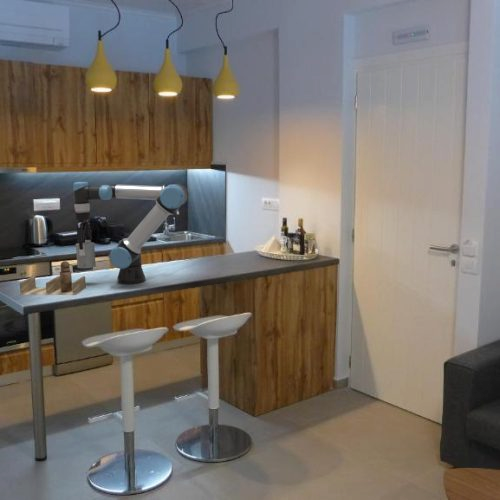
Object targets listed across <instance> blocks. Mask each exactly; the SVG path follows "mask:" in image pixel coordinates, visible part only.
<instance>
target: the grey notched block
mask: <svg viewBox="0 0 500 500" xmlns="http://www.w3.org/2000/svg"><path fill="white" fill-rule="evenodd" d="M83 243H84V247H85V256H80V255H79V243H77V242H76V243H75V249H76V250H75V251H76V254H75V255H76V264H77V265H76V266H77V268H78V269H91V268H96V252H95V250H96V249H95V242H85V241H83Z"/></svg>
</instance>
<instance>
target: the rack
mask: <svg viewBox="0 0 500 500" xmlns="http://www.w3.org/2000/svg"><path fill="white" fill-rule="evenodd" d="M86 288H87V287H86V276H81V277H80V278H78V279H77V280H75V281H73V282H72V291H71V292H61V285H60V275H57V276H56V277H54V278H52V279H50V280H49V281H47V282H46V283H45V286H44V287H39V286H37V283H36V275H32V276H31V277H29V278H26V279H24V280H23V281H21V282H19V290H20V291H19V292H20V295H19V296H23V295H25V296H28V295H29V296H30V295H31V296H43V295H45V296H46V295H47V296H48V295H49V296H50V295H51V296H76V295H77V294H79V293H80V292H82V291H83V290H84V289H86Z"/></svg>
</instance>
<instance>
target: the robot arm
mask: <svg viewBox="0 0 500 500" xmlns="http://www.w3.org/2000/svg"><path fill="white" fill-rule="evenodd" d="M72 188H73V190H72V191H73V199H74V201H73V202H74V205H73V207H74V211H75V213H74V214H75V215H74V217H75V220H78V223H76V244H77V243H79V255H80V256H85V247H84V242H91V241H92V240H93V236H92V230H91V222H90V219H91V212H90V211H91V208H90V207H91V206H90V201H107V200H108V201H109V200H112V199H125V200H126V199H127V200H145V201H146V200H148V201H149V200H150V201H155V205H154V206H153V207H152V209H151V210H150V211H149V212H148V213H147V215H145V217H144V218H143V219H142V220H141V222H140V223H139V224H138V225H137V226H136V227H135V228H134V230H133V231H132V232H131V234H130V235H129V236H128V237H126V238H125V237H124V238H122V239H121V240H119V241H118V244H117V246H115V247H113V249H112V250H111V251H110V253H109V262H110V263H111V264H112V266H113V267H114V268H117V269H119V270H118V275H117V278H116V279H117V283H119V284H123V285H132V284H133V285H134V284H136V285H137V284H142V283H144V282H145V281H146V276H145V273H144V270H143V268H142V266H143V265H142V248H143V246H144V245H145V244H146V243H147V241H149V239H150V238H151V237H152V236H153V235H154V233H155V232H157V230H158V229H159V227H160V226H161V225H162V224H163V223H164V222H165V221H166V219H167V218H168V217H169V216H170V215H171V216H172V215H174V214H175V213H176V212H177V211H178V210H179V209H180V207H181V206H182V205H184V204H185V203H187V201H188V199H189V195H190V194H189V191H188V188H187V187H186V186H185V185H184V184H181V183H172V184H168V183H165V184H163V185H145V184H143V185H141V184H140V185H139V184H117V183H116V184H115V183H105V184H100V185H98V184H97V185H89V183H88V181H77V182H76V181H75V182H73V187H72ZM84 239H85V240H84Z"/></svg>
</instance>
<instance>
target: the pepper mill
mask: <svg viewBox="0 0 500 500" xmlns="http://www.w3.org/2000/svg"><path fill="white" fill-rule="evenodd" d="M70 266H71V265H70V263H69V262H68V261H67V260H64V261H62V262H60V271H59V276H60V285H61V292H71V291H72V283H73V282H72V281H73V280H72V279H73V278H72V271H71V269H70Z"/></svg>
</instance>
